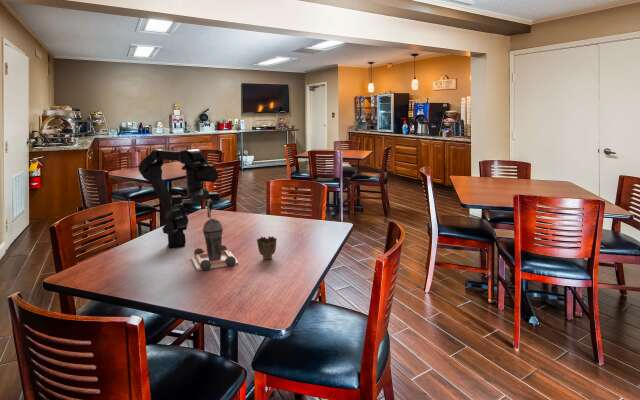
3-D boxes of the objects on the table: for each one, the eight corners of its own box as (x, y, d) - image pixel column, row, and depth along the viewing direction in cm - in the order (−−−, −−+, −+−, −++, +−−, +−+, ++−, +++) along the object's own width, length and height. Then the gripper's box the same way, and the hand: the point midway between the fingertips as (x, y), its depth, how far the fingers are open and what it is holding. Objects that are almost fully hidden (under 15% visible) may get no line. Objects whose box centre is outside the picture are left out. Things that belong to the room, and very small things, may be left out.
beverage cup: (228, 258, 159) (225, 206, 155) (214, 263, 153) (210, 210, 149) (215, 254, 163) (212, 204, 159) (200, 260, 157) (196, 208, 153)
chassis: (197, 271, 148) (196, 262, 147) (191, 258, 163) (190, 249, 162) (239, 265, 154) (238, 255, 153) (229, 252, 169) (229, 243, 168)
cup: (277, 255, 164) (277, 235, 163) (276, 261, 157) (275, 241, 155) (258, 255, 164) (257, 236, 162) (256, 262, 157) (255, 241, 155)
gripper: (171, 185, 157) (174, 226, 160) (221, 181, 164) (223, 220, 167) (168, 181, 167) (172, 219, 170) (216, 178, 174) (218, 214, 177)
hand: (196, 218), depth 171 cm, fingers open, 9 cm apart
